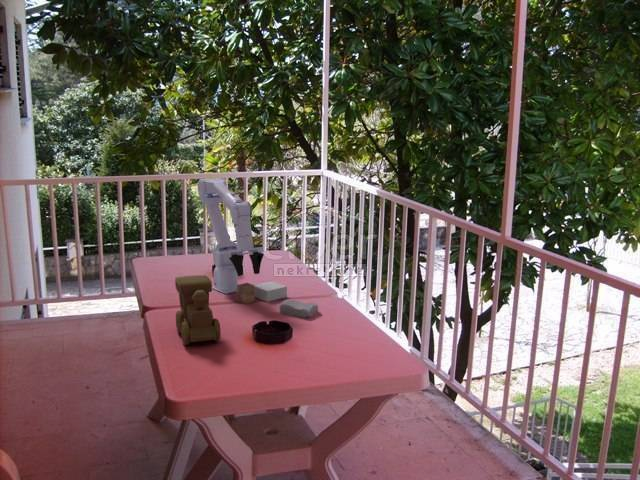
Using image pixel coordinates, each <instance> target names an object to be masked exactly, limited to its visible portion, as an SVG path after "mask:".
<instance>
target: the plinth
mask: <svg viewBox="0 0 640 480" xmlns="http://www.w3.org/2000/svg"><path fill="white" fill-rule="evenodd" d="M253 285H254V294H255V298H257V299H260V300H262V301H263V302H266V303H267V302H268V303H269V302H272V301H276V300H279V299H285V298H288V286H287V285H284V284H282V283H281V284H280V283H278V282H275V281H271V280H270V281H266V282H262V283H257V284H253Z"/></svg>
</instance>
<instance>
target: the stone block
mask: <svg viewBox="0 0 640 480" xmlns="http://www.w3.org/2000/svg"><path fill="white" fill-rule="evenodd" d="M318 312H319V307H318V303H313V302H303V301H300V300H298V299H297V300H296V299H294V298H293V299H292V298H288V299H287V298H286V299H285V300H283V301H282V302H281V303H280V304H279V314H282V315H288V316H291V315H292V317H298V318H302V319H311V318H312V317H313V316H314V315H316V314H317V313H318Z"/></svg>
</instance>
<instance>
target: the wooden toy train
mask: <svg viewBox="0 0 640 480" xmlns="http://www.w3.org/2000/svg"><path fill="white" fill-rule="evenodd" d="M174 283H175V289H176V292H177V293H178V299H179V304H180V305H179V307H180V310H177V311H176V312H175V325H176V331H177V332H178V333H179V334H181V341H182V343H183V345H184V346H188V345H190V343H195V342H204V341H214V342H215V343H217V342H219V341H220V340H221V326H220V321H219V319H217V318H214V314H213V311H212V309H211V308H210V306H209V305H210V293H212V292H213V289H212V287H213V283H212V280H211V279H210V277H209V276H207V275H204V274H203V275H199V274H198V275H197V274H196V275H185V276H178V277H175V279H174Z"/></svg>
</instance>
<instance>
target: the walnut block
mask: <svg viewBox="0 0 640 480" xmlns="http://www.w3.org/2000/svg"><path fill="white" fill-rule="evenodd" d="M254 285H255V284H252V283H249V282H244V283H238V285H237V291H236V302H238V303H241V304H243V303H244V304H243V305H246V304H249V303H254V302H255V298H256V297H255V294H254ZM245 303H246V304H245Z"/></svg>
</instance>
